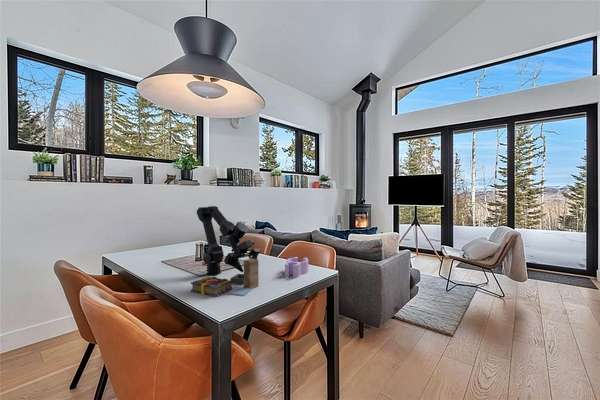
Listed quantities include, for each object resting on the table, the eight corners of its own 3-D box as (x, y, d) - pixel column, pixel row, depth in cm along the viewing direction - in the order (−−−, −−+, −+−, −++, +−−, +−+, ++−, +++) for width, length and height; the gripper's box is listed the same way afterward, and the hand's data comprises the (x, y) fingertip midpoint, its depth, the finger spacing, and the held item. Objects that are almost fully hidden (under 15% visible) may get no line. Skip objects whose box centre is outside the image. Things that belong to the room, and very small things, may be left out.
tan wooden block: (243, 287, 131) (243, 260, 131) (251, 284, 135) (251, 258, 135) (250, 289, 128) (250, 261, 128) (258, 286, 132) (258, 260, 131)
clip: (301, 279, 145) (301, 266, 144) (279, 276, 148) (279, 264, 148) (311, 269, 164) (311, 258, 163) (291, 267, 167) (292, 256, 167)
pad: (228, 294, 122) (228, 292, 122) (237, 288, 129) (237, 287, 129) (244, 295, 120) (244, 294, 119) (252, 289, 127) (252, 288, 127)
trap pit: (230, 282, 137) (230, 278, 137) (238, 278, 145) (238, 273, 145) (244, 284, 135) (244, 279, 135) (252, 279, 143) (252, 274, 143)
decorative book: (208, 285, 135) (208, 275, 135) (234, 290, 128) (234, 279, 128) (190, 292, 125) (190, 281, 125) (217, 298, 117) (217, 286, 117)
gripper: (227, 236, 128) (241, 263, 121) (258, 232, 142) (272, 256, 135) (218, 251, 133) (231, 277, 126) (248, 245, 147) (262, 269, 140)
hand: (250, 269), depth 132 cm, fingers open, 9 cm apart
